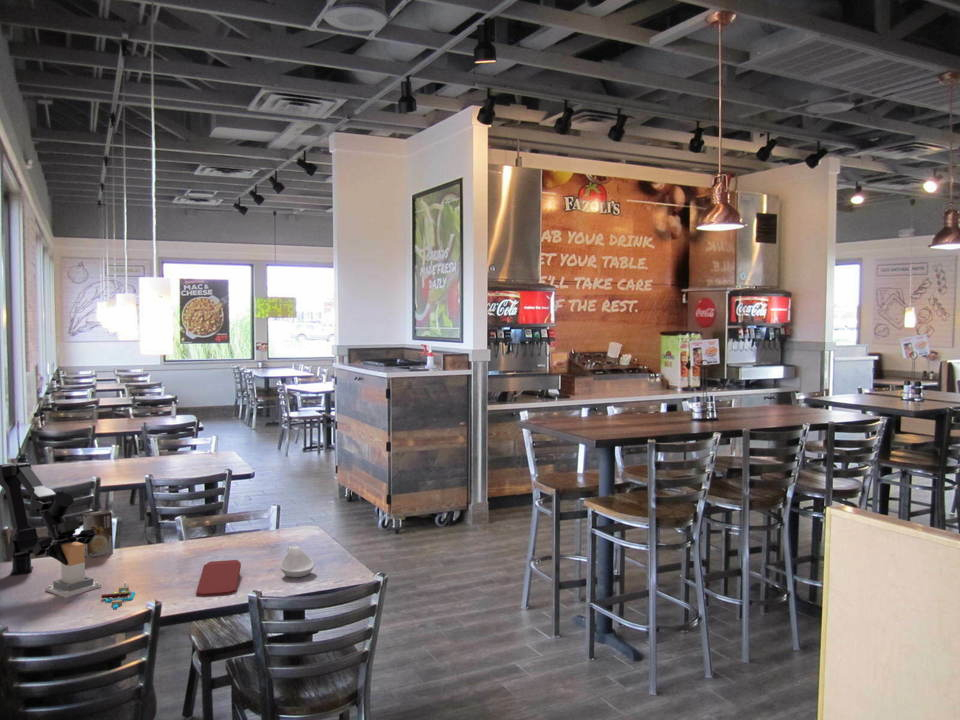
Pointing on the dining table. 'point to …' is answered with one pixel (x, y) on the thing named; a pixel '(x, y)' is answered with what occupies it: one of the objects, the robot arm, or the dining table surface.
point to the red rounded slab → (219, 578)
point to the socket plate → (72, 587)
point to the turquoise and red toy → (122, 594)
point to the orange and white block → (73, 563)
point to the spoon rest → (296, 563)
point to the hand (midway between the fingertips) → (75, 562)
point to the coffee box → (99, 533)
